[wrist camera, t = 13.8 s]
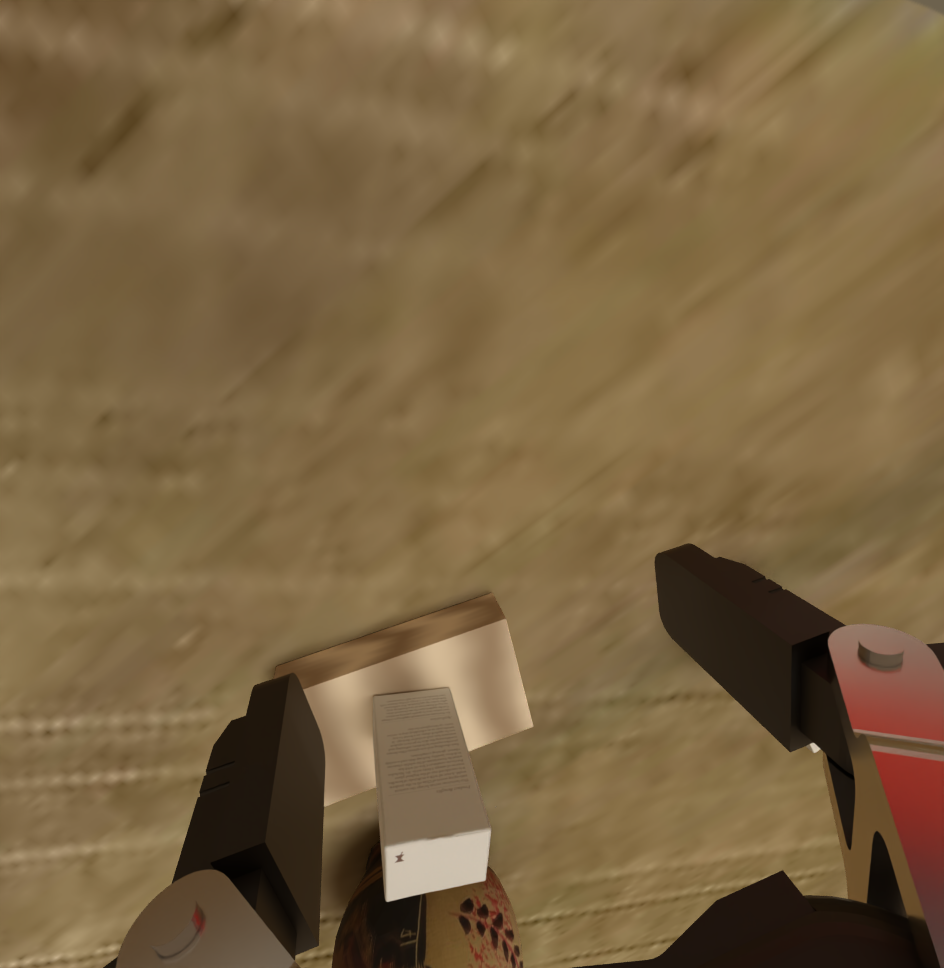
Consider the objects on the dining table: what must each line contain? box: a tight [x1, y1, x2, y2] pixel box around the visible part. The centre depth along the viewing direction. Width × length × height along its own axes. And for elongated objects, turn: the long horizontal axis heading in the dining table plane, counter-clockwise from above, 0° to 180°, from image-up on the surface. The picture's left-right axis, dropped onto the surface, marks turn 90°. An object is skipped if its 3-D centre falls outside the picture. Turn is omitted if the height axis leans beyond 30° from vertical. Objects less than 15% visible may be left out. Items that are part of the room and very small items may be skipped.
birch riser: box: [274, 593, 533, 807], centre depth 41 cm, size 18×11×4 cm, turn 104°
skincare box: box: [373, 688, 491, 902], centre depth 34 cm, size 6×4×12 cm
